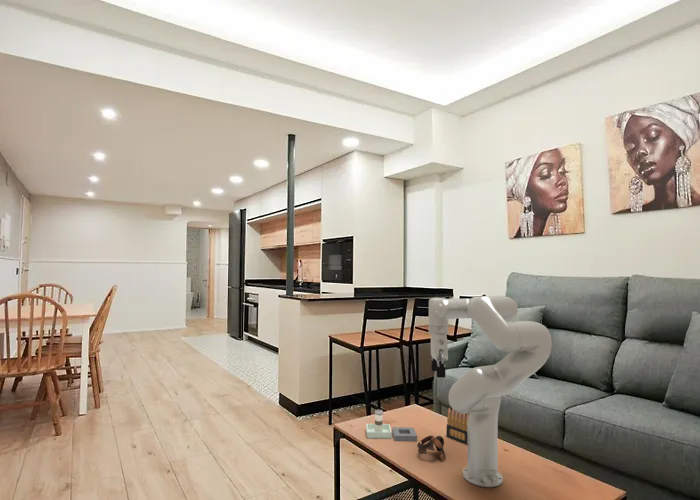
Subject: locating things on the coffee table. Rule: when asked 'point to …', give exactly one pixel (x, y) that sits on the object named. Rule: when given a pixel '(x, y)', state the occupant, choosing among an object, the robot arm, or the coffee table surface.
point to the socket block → (404, 434)
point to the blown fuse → (378, 421)
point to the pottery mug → (432, 445)
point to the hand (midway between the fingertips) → (438, 374)
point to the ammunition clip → (457, 427)
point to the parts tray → (379, 435)
